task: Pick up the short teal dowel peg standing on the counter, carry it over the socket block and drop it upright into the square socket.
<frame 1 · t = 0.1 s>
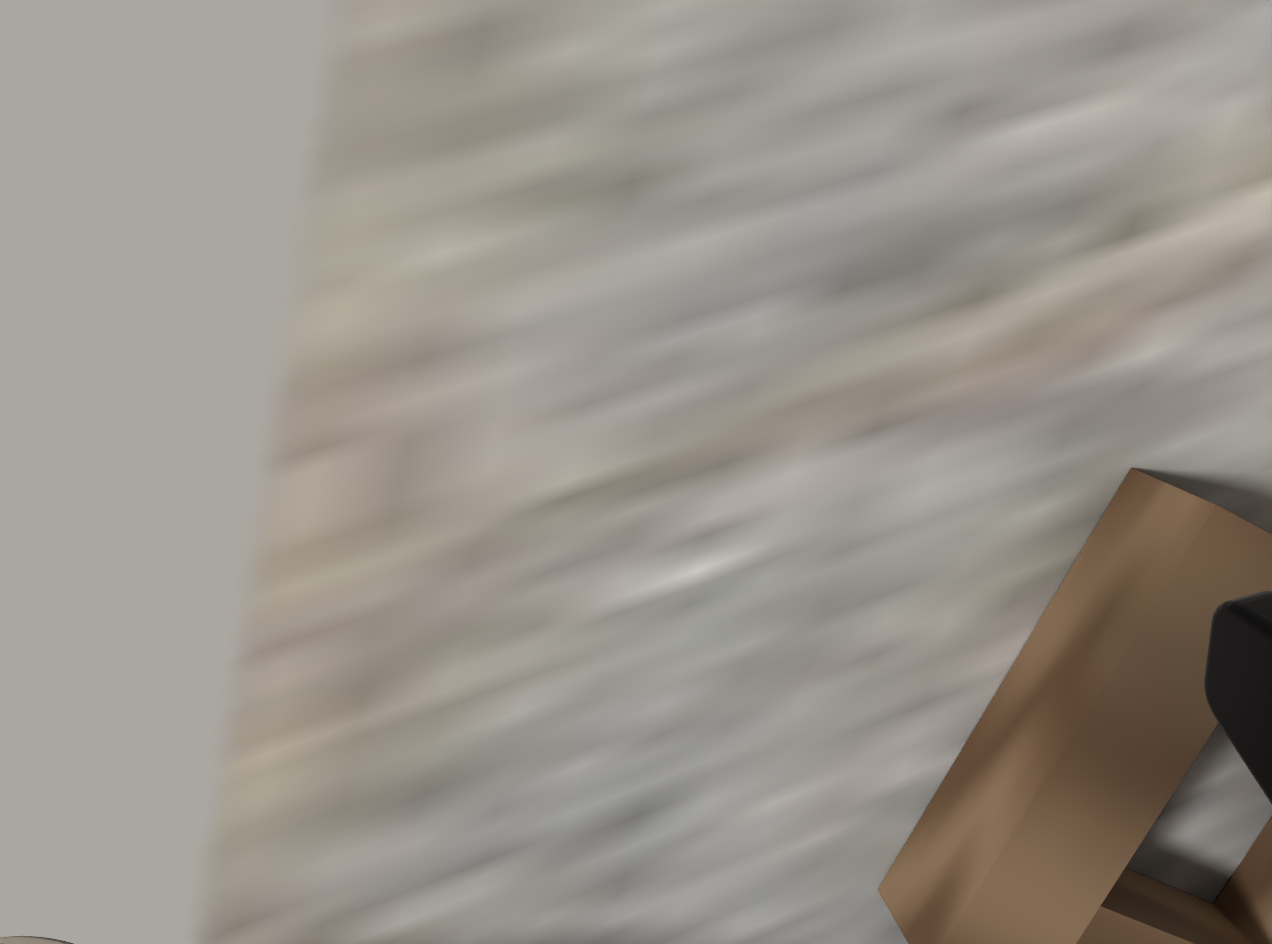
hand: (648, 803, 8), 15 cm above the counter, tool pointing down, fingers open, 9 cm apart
socket block: (1188, 771, 28), on the counter
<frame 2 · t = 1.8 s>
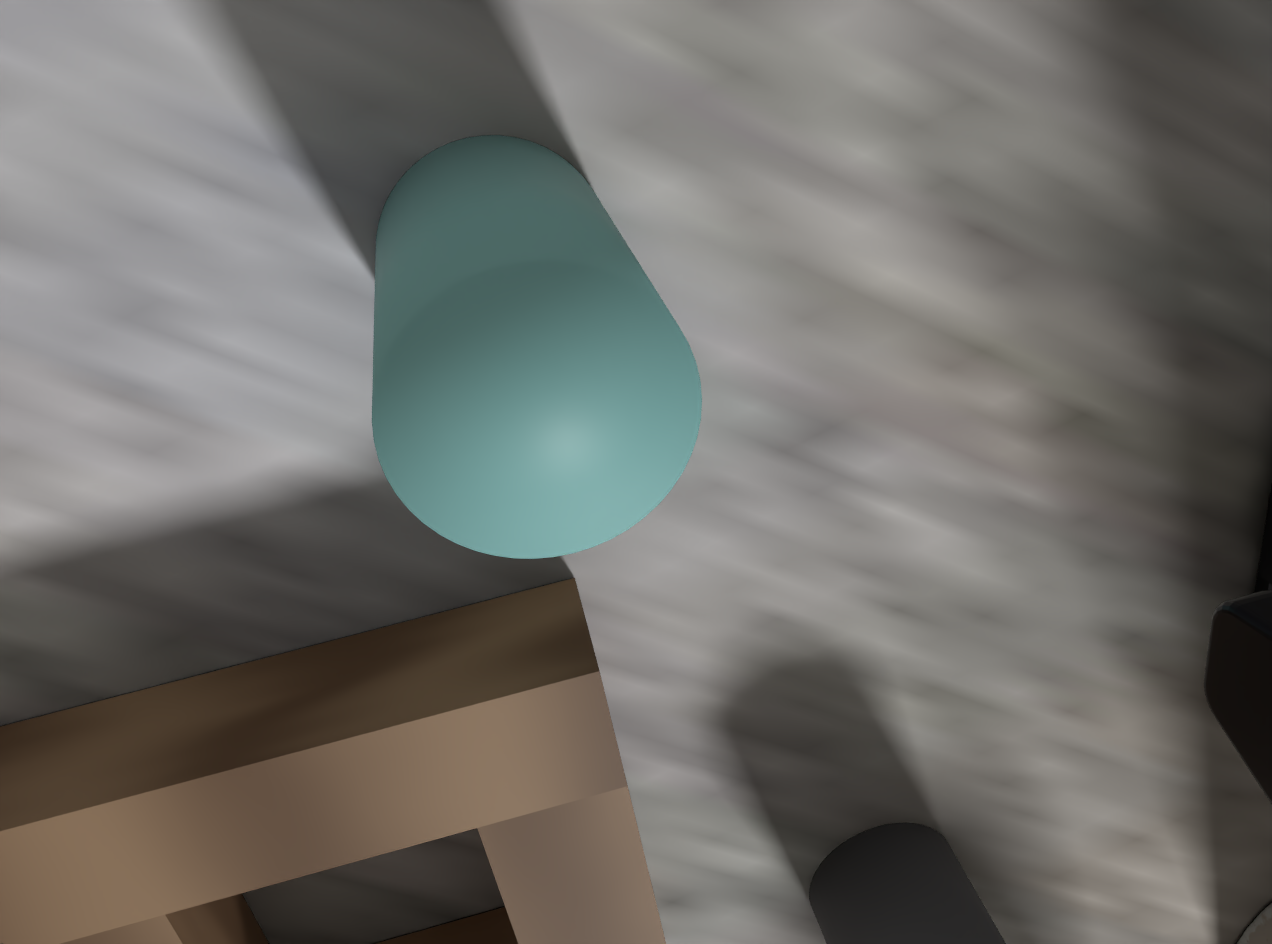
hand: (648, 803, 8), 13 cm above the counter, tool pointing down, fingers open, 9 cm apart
socket block: (370, 852, 25), on the counter
black dowel: (881, 877, 29), on the counter
peg: (495, 254, 19), on the counter
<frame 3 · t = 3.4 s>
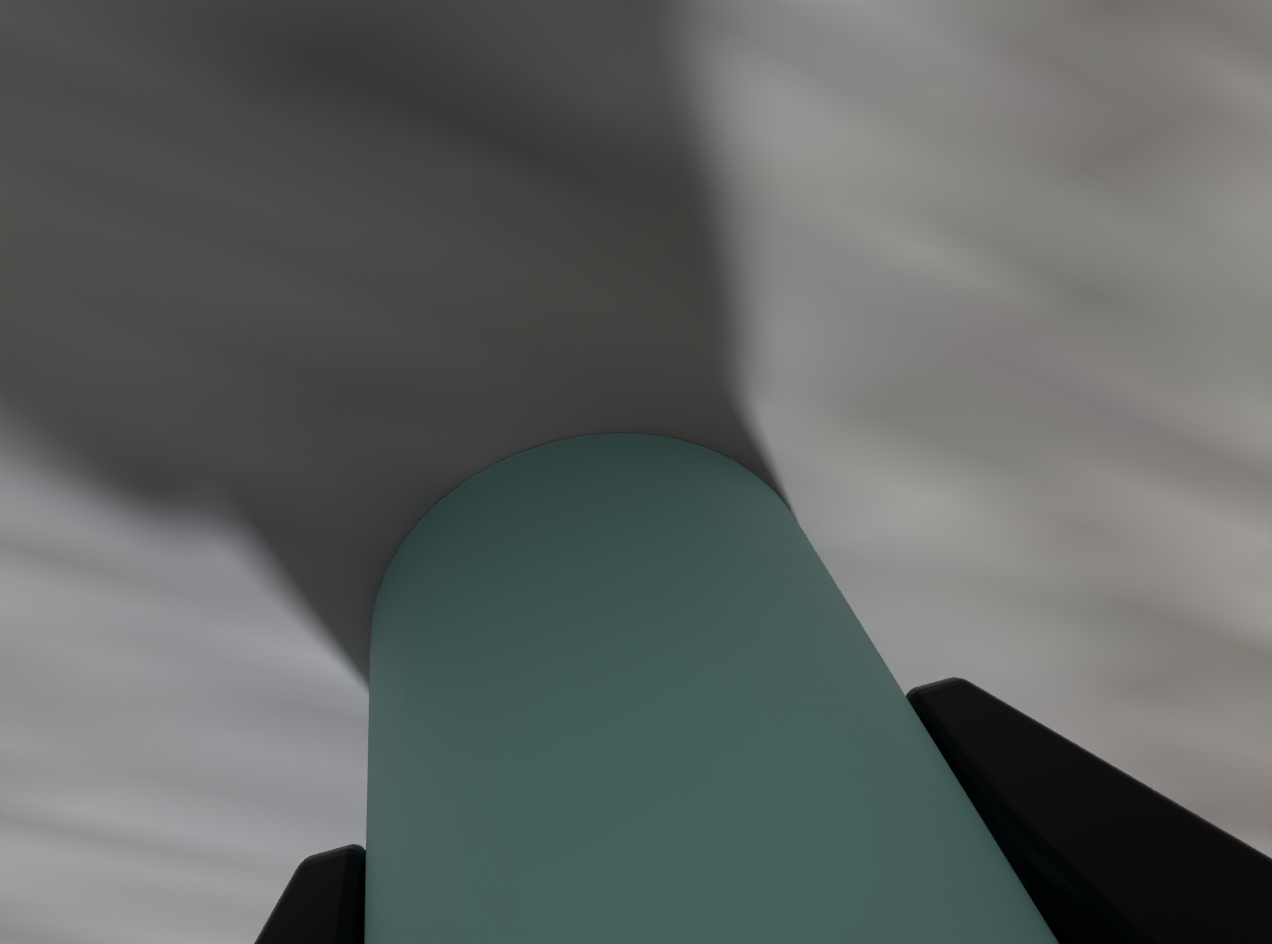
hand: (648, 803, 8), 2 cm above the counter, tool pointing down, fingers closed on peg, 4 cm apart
peg: (601, 633, 10), on the counter, touching gripper
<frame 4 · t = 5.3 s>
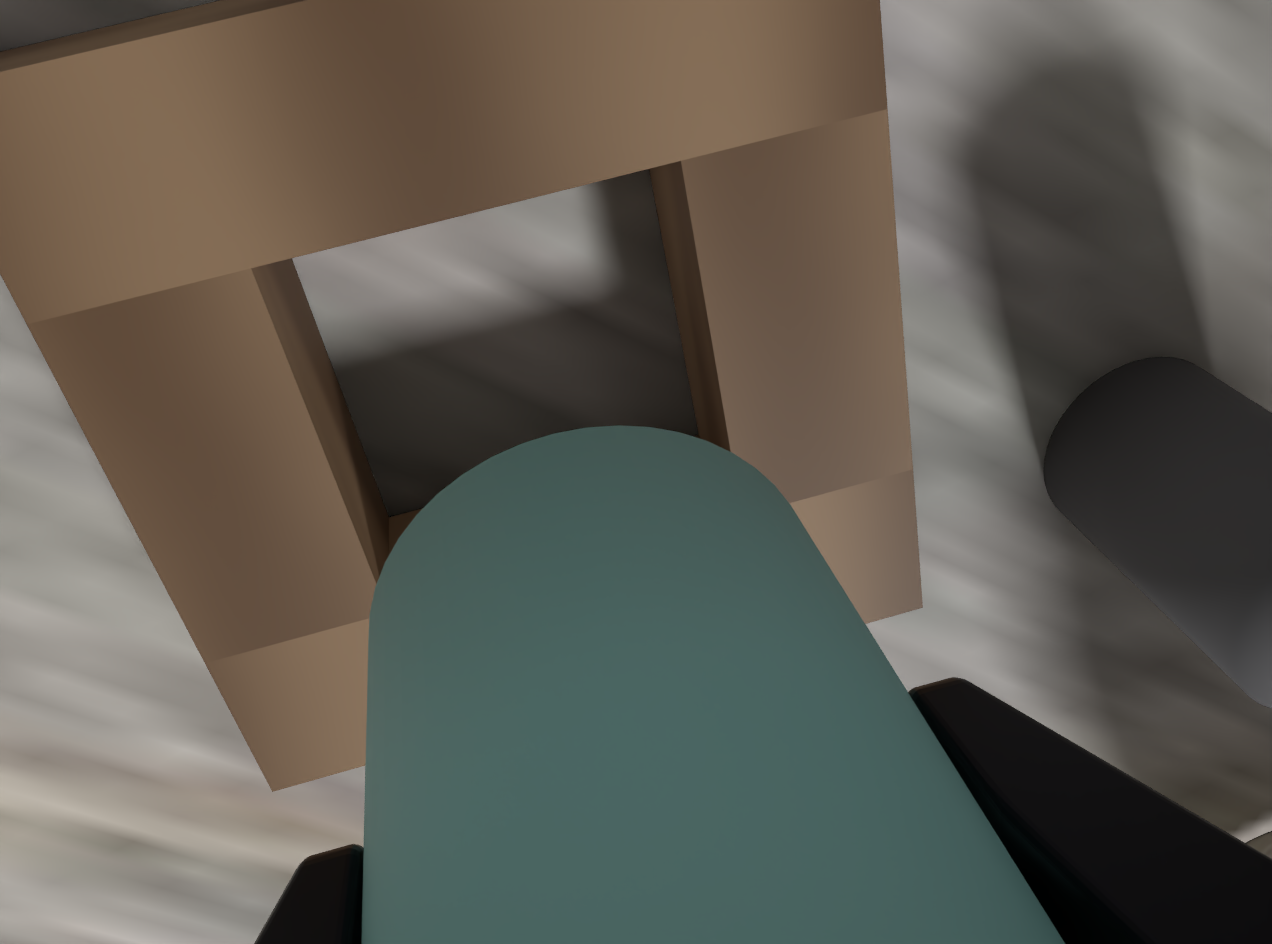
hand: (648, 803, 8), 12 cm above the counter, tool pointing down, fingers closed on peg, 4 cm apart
beer glass: (1262, 889, 32), on the counter
socket block: (505, 331, 19), on the counter
black dowel: (1133, 445, 23), on the counter
peg: (600, 627, 10), point 10 cm above the counter, touching gripper
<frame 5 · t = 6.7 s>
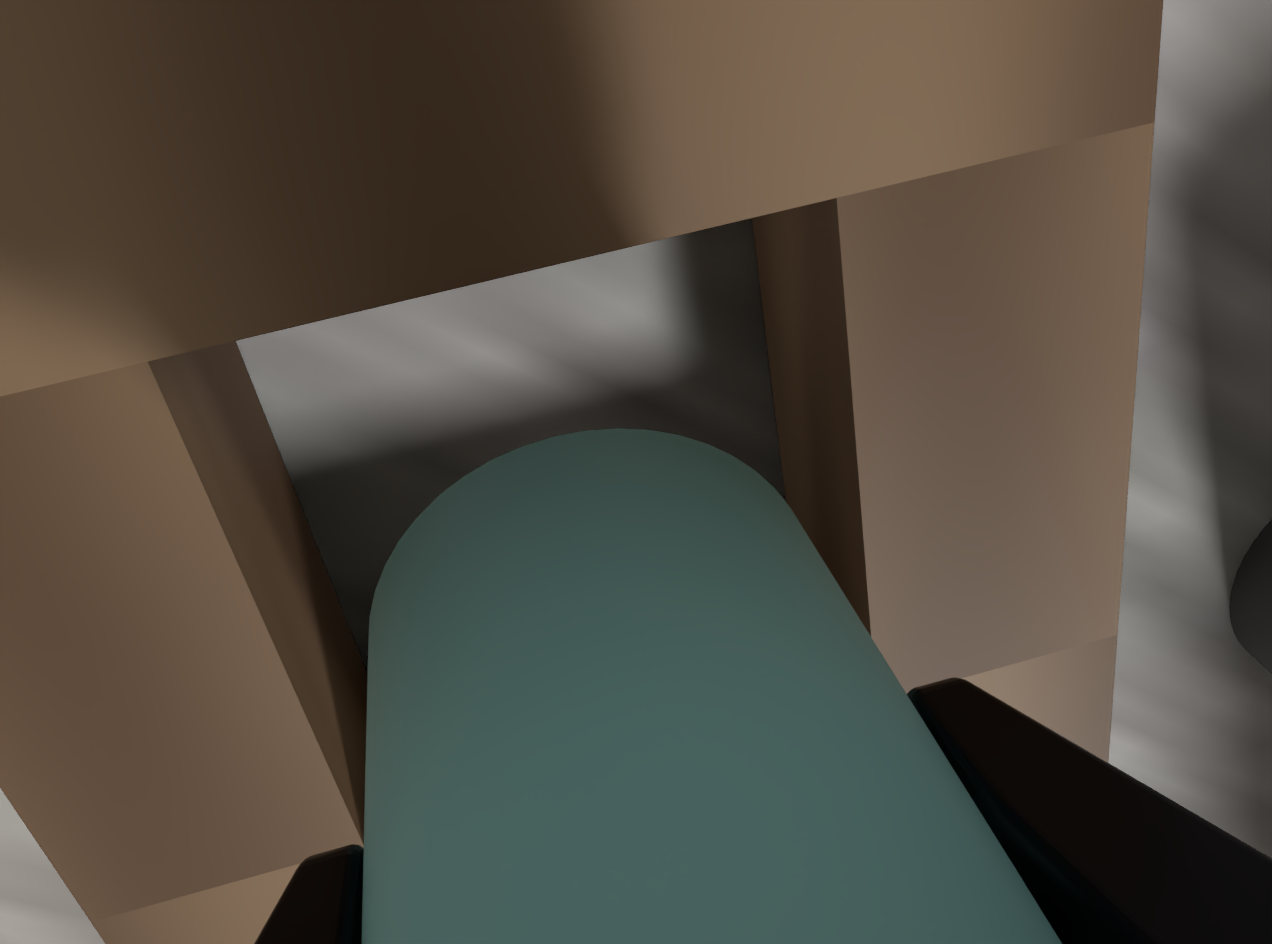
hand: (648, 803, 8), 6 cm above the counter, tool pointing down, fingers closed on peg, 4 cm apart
socket block: (536, 425, 13), on the counter
peg: (600, 629, 10), point 4 cm above the counter, touching gripper
when the fingers open (4 cm above the counter, at t = 7.5 s): peg drops 2 cm, resting in socket block.
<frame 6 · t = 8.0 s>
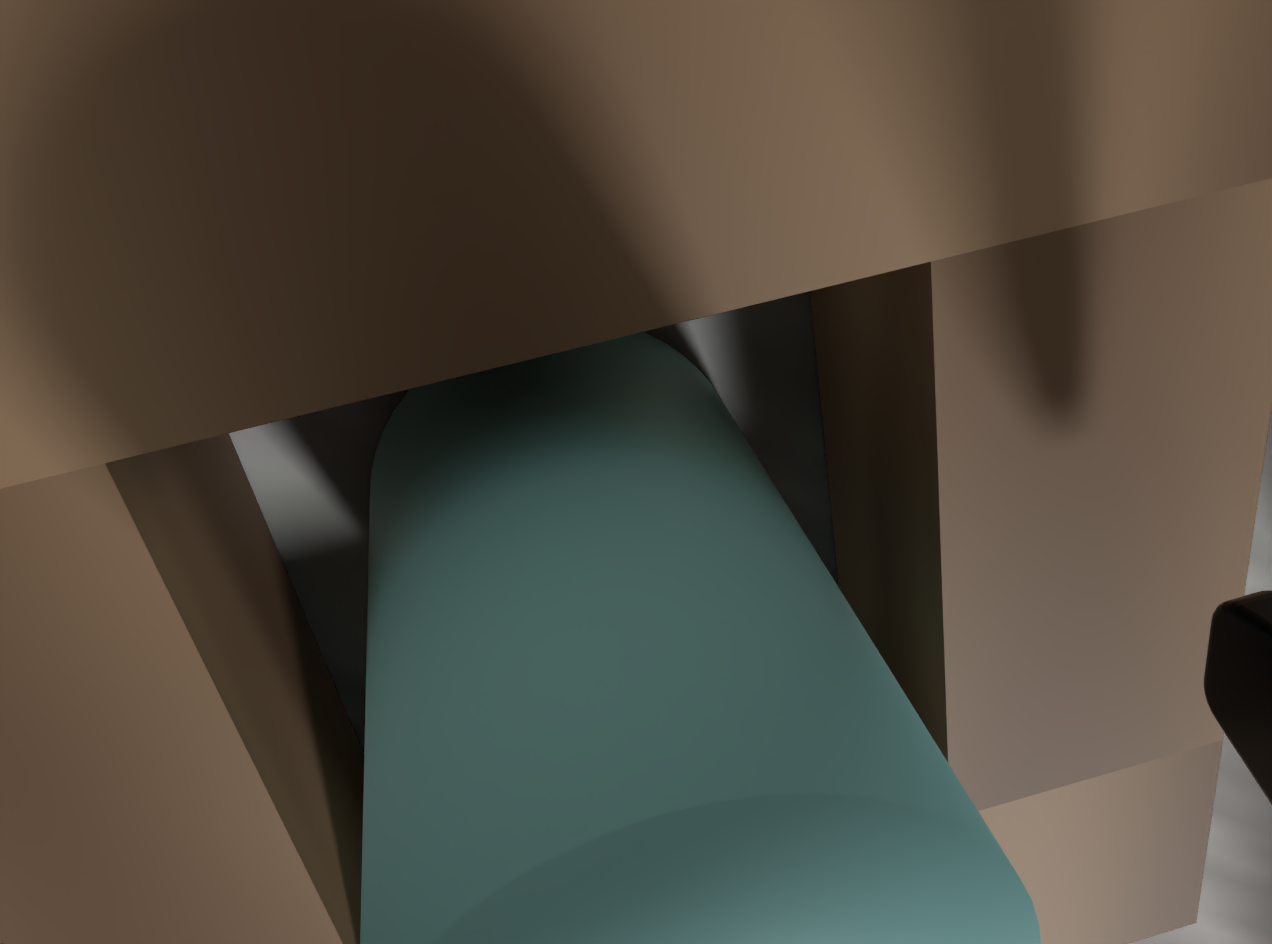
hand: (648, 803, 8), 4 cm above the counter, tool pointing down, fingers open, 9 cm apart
socket block: (560, 498, 12), on the counter
peg: (560, 491, 12), resting in socket block
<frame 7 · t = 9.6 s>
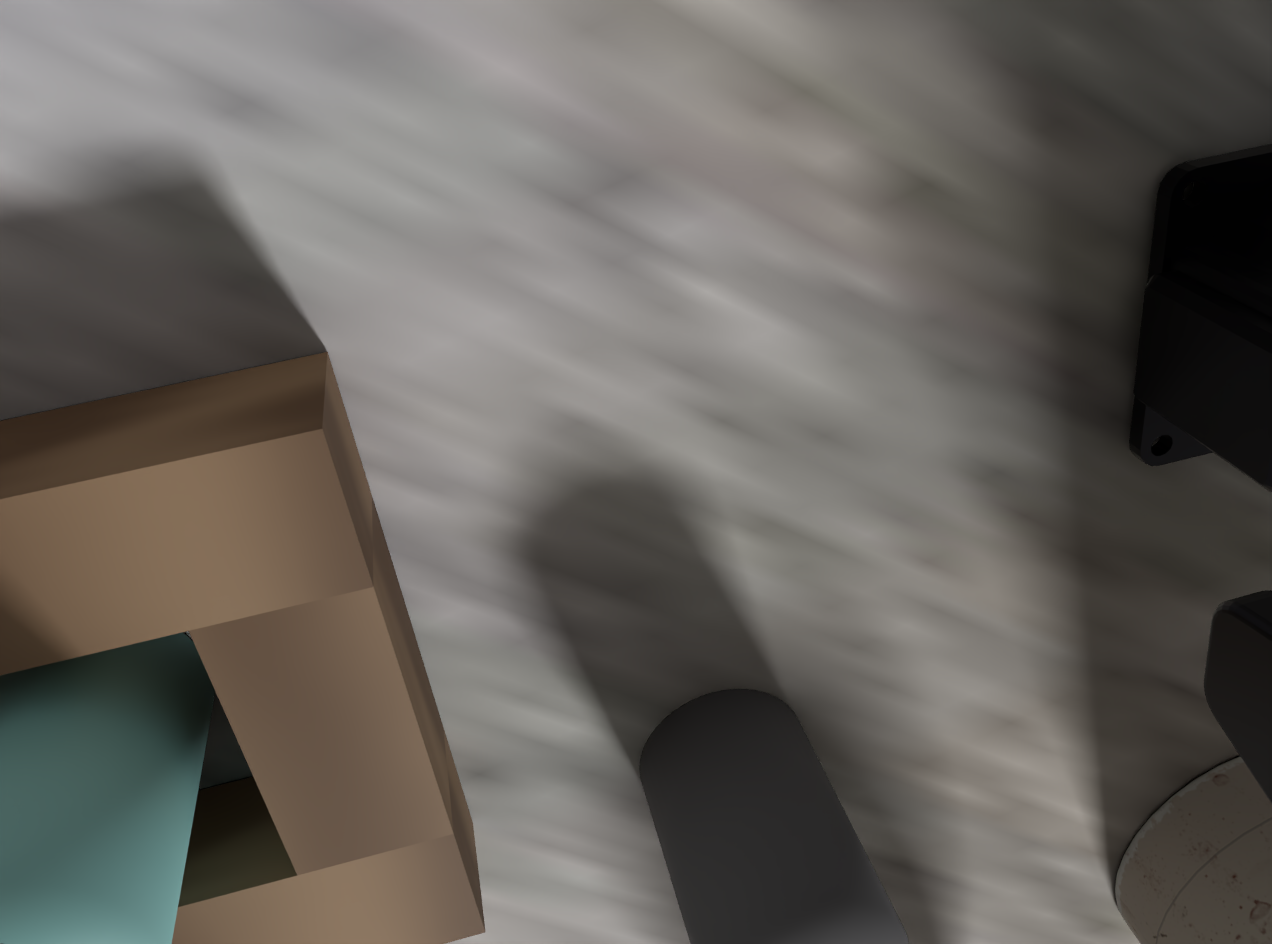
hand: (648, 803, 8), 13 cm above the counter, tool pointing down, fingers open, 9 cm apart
socket block: (106, 693, 21), on the counter
black dowel: (721, 755, 26), on the counter
peg: (106, 689, 21), resting in socket block
thermos bottle: (1232, 839, 32), on the counter
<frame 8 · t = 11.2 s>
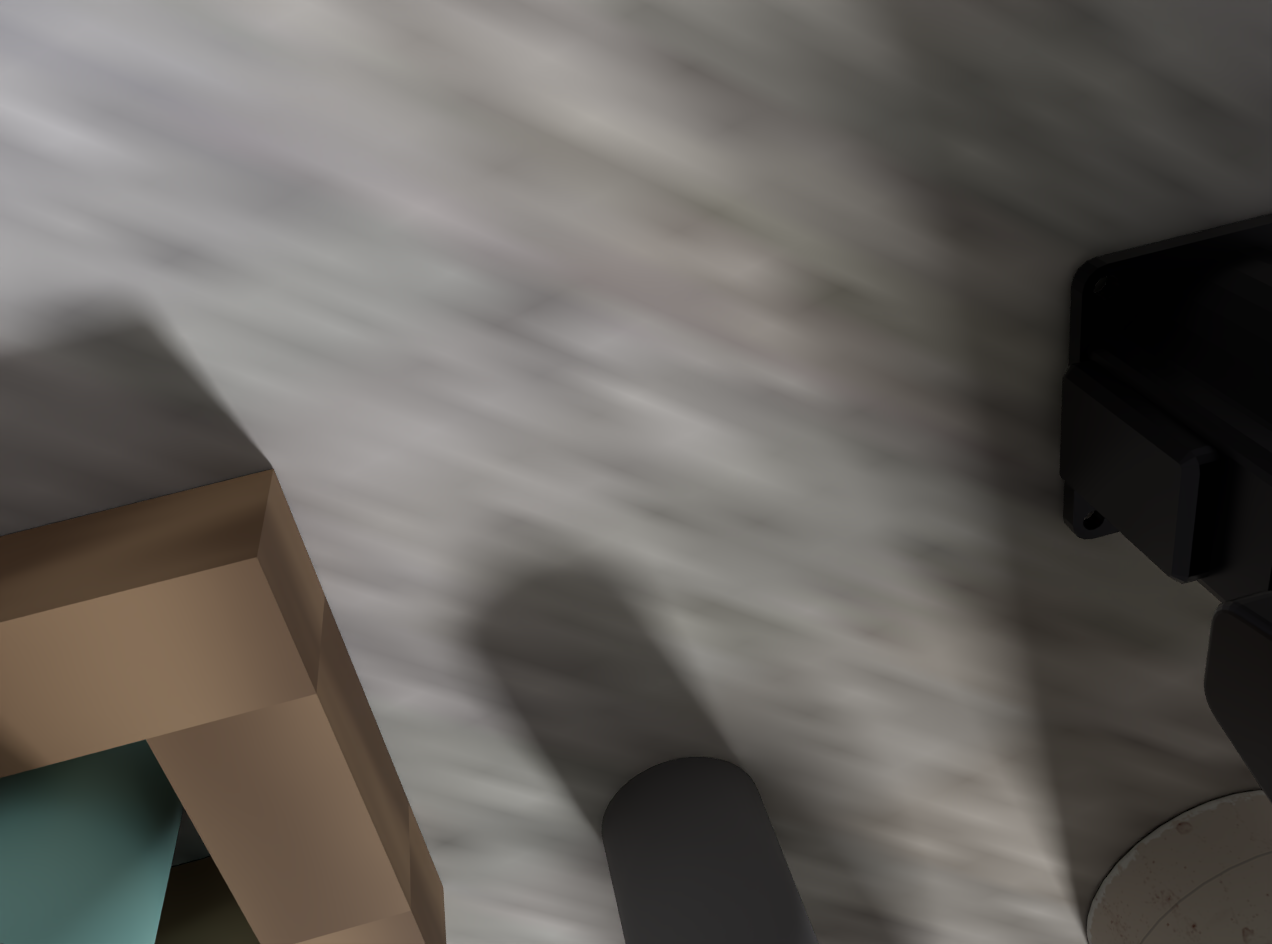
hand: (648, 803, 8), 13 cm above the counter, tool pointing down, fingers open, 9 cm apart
socket block: (86, 781, 23), on the counter
black dowel: (681, 818, 27), on the counter
peg: (86, 777, 23), resting in socket block
thermos bottle: (1204, 881, 33), on the counter
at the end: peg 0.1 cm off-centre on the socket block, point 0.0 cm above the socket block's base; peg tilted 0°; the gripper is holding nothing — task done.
